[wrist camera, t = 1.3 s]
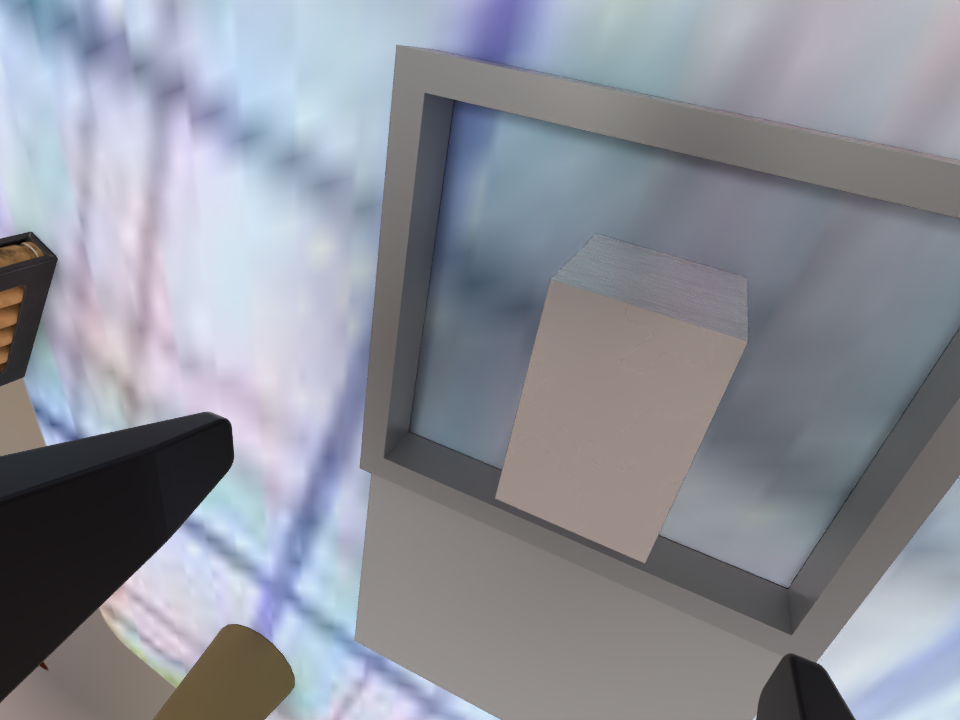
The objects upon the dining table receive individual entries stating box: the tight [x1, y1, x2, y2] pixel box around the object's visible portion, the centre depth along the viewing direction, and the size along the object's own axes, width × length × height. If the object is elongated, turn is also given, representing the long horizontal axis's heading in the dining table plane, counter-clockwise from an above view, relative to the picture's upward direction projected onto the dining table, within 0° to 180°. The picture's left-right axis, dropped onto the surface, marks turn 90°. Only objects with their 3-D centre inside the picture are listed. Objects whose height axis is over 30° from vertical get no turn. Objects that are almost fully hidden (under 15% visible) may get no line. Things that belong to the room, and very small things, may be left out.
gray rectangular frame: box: [354, 45, 960, 720], centre depth 21 cm, size 17×28×2 cm, turn 169°
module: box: [495, 234, 748, 563], centre depth 17 cm, size 4×7×5 cm, turn 169°
